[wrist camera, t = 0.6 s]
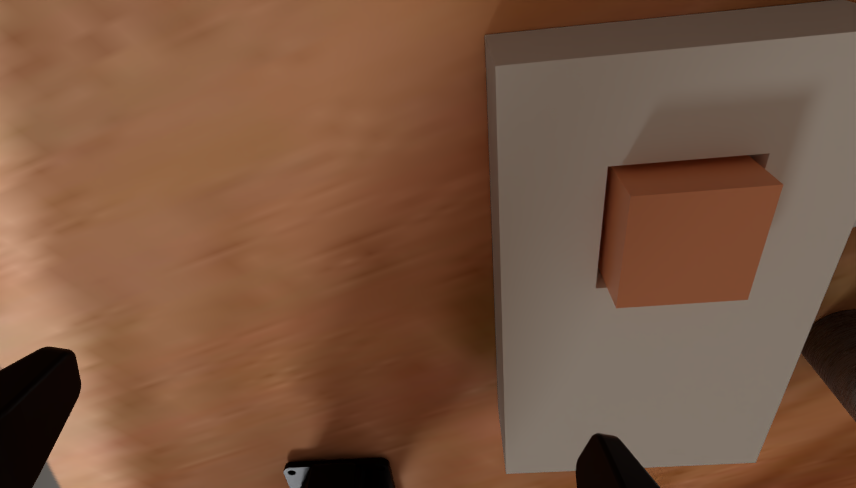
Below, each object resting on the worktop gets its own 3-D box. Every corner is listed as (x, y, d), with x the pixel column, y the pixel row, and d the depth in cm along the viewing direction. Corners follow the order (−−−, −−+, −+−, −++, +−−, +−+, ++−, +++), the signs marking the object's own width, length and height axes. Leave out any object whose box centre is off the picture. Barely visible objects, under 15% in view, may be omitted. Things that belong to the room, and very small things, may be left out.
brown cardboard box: (699, 236, 21) (747, 299, 18) (588, 244, 21) (615, 308, 18) (722, 132, 19) (783, 184, 15) (596, 143, 19) (630, 196, 16)
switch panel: (718, 396, 29) (755, 462, 25) (498, 408, 29) (505, 473, 26) (842, -1, 18) (936, 23, 14) (484, 34, 18) (495, 66, 15)
